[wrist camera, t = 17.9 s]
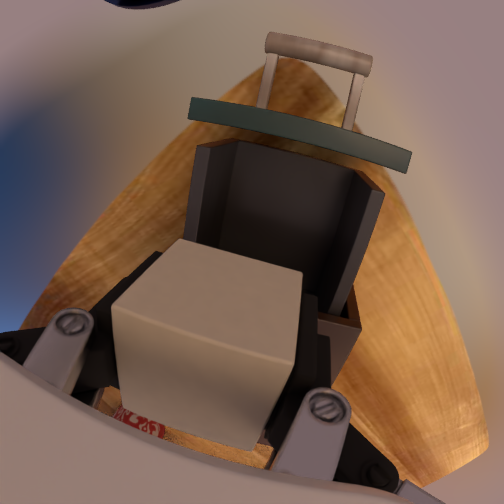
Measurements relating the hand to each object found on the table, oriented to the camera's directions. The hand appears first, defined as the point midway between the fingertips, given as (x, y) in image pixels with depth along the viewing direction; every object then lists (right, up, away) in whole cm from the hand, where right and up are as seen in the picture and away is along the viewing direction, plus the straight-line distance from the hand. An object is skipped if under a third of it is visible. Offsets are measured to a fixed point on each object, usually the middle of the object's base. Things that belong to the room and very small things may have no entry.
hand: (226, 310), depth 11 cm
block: (0, 0, 0) cm, 0 cm away
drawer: (+4, +8, +11) cm, 14 cm away
